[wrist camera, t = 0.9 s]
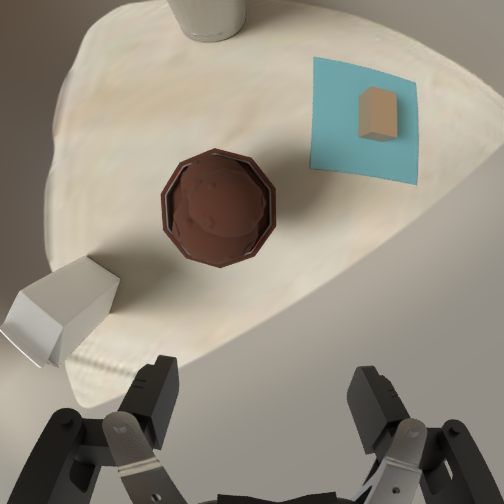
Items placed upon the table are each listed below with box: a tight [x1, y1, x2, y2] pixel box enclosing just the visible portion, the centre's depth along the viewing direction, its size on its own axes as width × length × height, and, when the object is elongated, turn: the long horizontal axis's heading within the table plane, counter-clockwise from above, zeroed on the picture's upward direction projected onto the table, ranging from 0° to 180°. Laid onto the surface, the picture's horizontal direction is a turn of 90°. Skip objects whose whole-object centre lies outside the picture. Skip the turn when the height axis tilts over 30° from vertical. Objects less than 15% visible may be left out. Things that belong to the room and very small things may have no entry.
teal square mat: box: [310, 57, 418, 185], centre depth 29 cm, size 16×16×5 cm
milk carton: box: [0, 256, 120, 368], centre depth 28 cm, size 7×7×19 cm
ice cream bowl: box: [161, 148, 276, 268], centre depth 26 cm, size 11×11×15 cm
